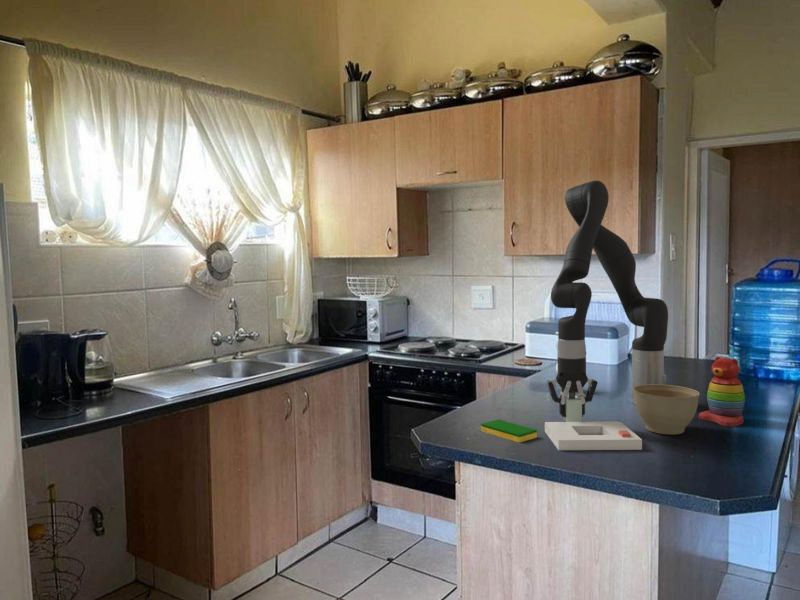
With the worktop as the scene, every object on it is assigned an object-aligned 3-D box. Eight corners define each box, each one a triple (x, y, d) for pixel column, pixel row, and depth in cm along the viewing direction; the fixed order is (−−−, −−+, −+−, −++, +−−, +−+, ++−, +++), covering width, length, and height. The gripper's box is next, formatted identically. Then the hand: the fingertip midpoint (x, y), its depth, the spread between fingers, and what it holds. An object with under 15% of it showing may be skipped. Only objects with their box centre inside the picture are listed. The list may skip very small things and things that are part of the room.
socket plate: (619, 430, 164) (620, 418, 164) (641, 449, 148) (642, 436, 148) (544, 431, 165) (544, 419, 164) (558, 450, 149) (558, 436, 148)
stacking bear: (694, 418, 175) (696, 356, 174) (720, 414, 179) (721, 353, 178) (728, 427, 165) (730, 362, 164) (754, 423, 169) (756, 359, 168)
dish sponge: (519, 444, 155) (519, 434, 155) (480, 432, 166) (480, 423, 166) (537, 438, 160) (537, 429, 159) (498, 427, 171) (498, 418, 170)
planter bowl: (694, 442, 153) (695, 399, 152) (627, 433, 161) (627, 393, 160) (702, 426, 166) (702, 387, 165) (639, 419, 175) (639, 381, 174)
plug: (576, 416, 172) (576, 388, 171) (581, 421, 167) (581, 392, 166) (562, 417, 172) (562, 388, 171) (567, 422, 167) (566, 393, 166)
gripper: (593, 352, 171) (593, 412, 173) (542, 353, 172) (543, 413, 173) (602, 356, 164) (602, 419, 165) (548, 358, 164) (549, 421, 165)
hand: (572, 416), depth 169 cm, fingers closed on plug, 4 cm apart
